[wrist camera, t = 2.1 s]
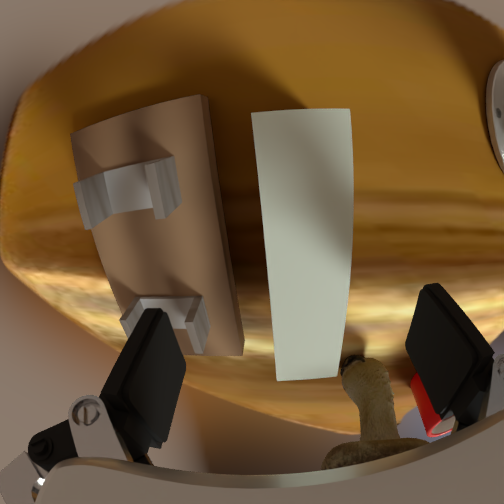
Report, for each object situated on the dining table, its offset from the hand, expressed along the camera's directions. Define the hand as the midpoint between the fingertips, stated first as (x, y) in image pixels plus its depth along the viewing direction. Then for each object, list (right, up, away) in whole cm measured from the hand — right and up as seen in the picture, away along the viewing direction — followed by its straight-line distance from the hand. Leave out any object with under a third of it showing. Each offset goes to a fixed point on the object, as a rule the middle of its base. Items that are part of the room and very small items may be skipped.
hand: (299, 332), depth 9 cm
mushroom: (+9, -8, +15) cm, 20 cm away
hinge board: (-8, +3, +11) cm, 14 cm away
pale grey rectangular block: (+1, +5, +10) cm, 11 cm away
